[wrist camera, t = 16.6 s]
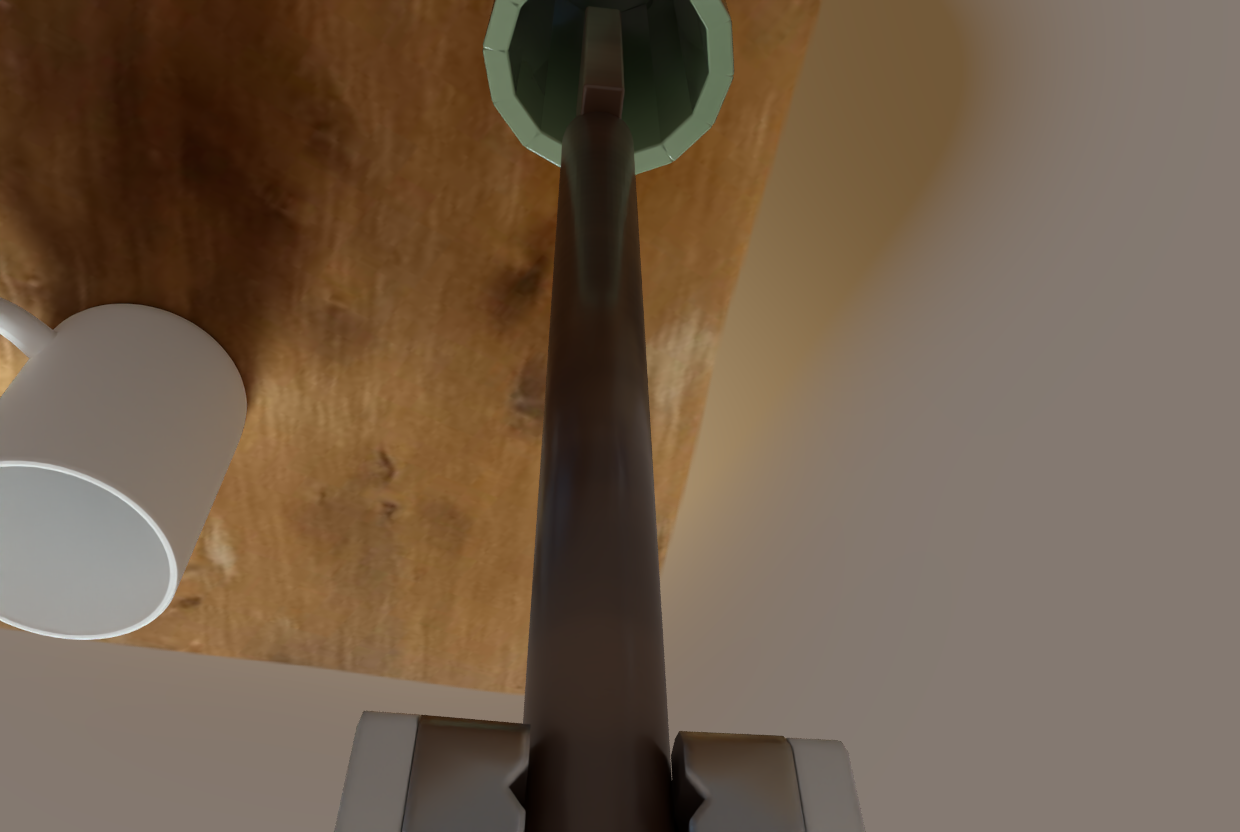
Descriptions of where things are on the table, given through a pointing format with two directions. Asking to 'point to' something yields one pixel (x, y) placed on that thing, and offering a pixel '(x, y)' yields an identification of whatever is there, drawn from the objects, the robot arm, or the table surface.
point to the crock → (653, 71)
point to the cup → (108, 464)
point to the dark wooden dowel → (597, 495)
